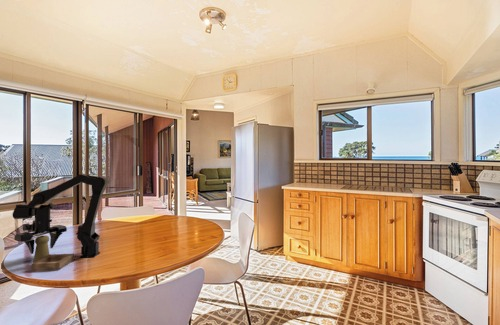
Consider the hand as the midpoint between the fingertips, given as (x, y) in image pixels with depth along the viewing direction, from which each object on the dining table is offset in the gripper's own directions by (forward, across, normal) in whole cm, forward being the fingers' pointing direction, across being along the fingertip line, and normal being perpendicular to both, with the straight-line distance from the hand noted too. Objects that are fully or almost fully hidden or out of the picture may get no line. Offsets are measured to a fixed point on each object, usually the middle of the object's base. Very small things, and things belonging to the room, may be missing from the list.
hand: (42, 250), depth 117 cm
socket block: (+4, +2, +13) cm, 13 cm away
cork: (+4, 0, 0) cm, 4 cm away
